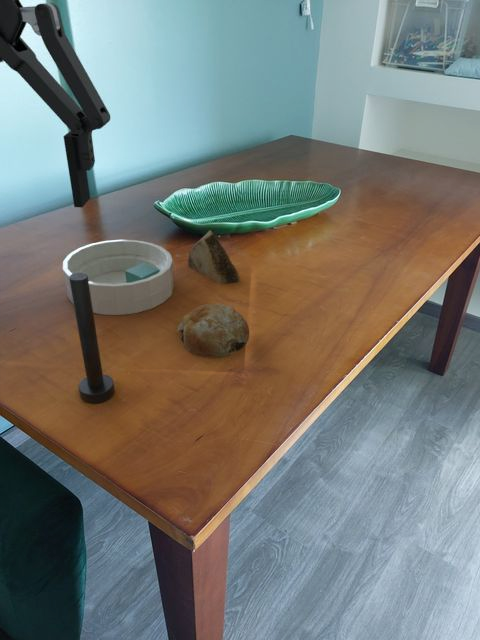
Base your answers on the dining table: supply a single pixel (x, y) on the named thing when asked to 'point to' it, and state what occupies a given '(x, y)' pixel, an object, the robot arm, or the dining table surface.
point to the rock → (212, 260)
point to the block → (140, 272)
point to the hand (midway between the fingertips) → (13, 199)
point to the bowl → (121, 275)
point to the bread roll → (214, 330)
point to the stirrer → (89, 344)
